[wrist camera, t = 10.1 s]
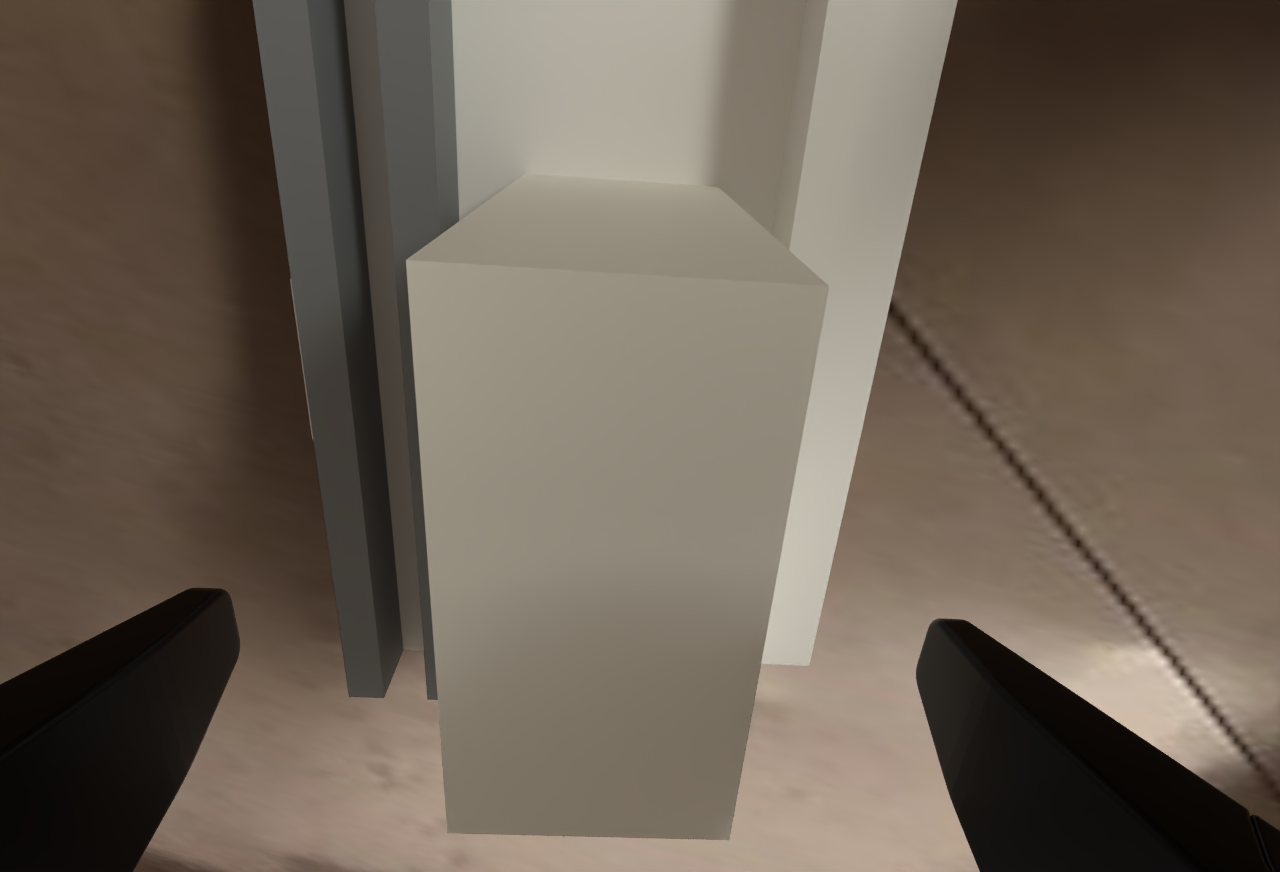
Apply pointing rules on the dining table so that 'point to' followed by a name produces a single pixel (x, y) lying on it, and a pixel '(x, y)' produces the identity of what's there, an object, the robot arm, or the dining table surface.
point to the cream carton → (605, 497)
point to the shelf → (579, 147)
